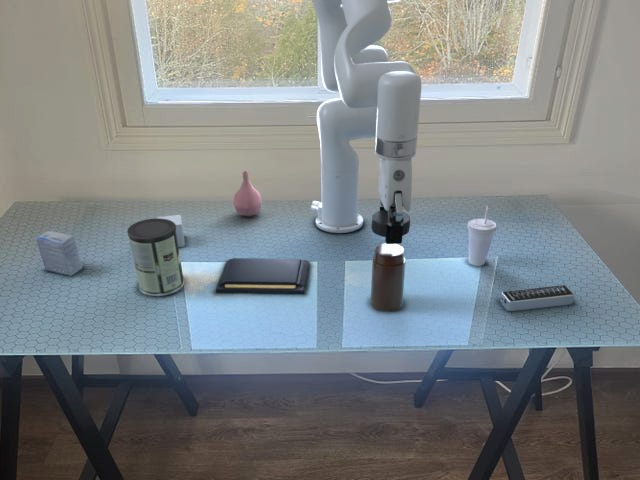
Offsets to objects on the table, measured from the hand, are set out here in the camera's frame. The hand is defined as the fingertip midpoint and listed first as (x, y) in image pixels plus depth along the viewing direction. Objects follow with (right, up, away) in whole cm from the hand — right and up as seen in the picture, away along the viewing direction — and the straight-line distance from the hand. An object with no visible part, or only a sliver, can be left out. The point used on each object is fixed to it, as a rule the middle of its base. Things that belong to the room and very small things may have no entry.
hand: (390, 233), depth 129 cm
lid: (0, +2, -2) cm, 3 cm away
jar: (0, -13, +9) cm, 16 cm away
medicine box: (-74, -4, +25) cm, 79 cm away
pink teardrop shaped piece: (-32, +14, +49) cm, 60 cm away
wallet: (-26, -6, +20) cm, 34 cm away
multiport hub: (+32, -13, +8) cm, 36 cm away
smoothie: (+24, -2, +23) cm, 33 cm away
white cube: (-51, +5, +36) cm, 62 cm away
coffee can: (-50, -8, +18) cm, 53 cm away
